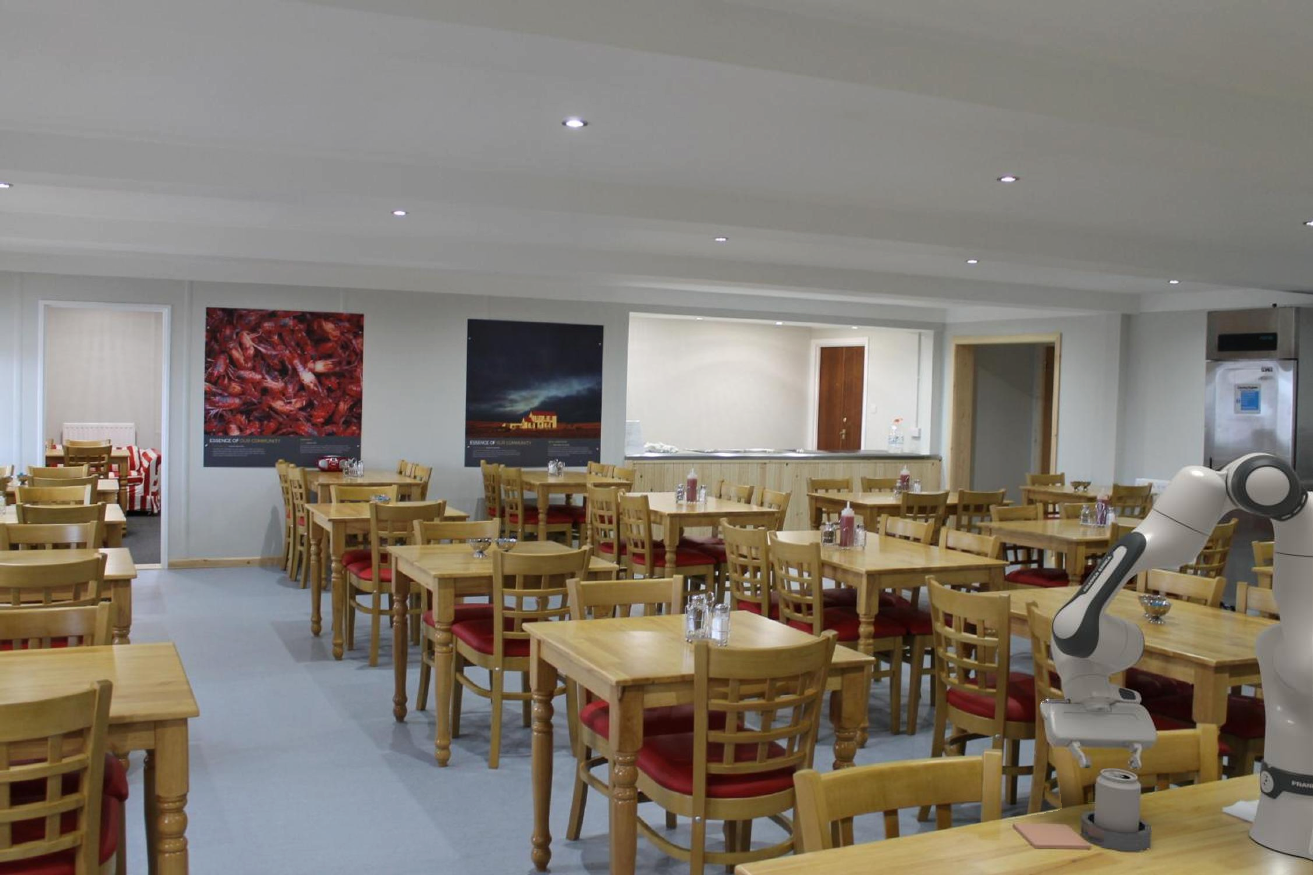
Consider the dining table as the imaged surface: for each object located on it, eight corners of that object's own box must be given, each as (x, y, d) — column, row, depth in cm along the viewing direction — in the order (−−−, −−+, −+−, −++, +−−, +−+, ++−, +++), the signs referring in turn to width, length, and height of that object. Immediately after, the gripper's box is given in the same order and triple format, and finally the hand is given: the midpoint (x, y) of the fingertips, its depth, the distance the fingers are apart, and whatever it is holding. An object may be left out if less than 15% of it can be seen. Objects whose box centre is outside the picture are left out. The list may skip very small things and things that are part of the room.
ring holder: (1130, 826, 210) (1131, 810, 210) (1162, 851, 198) (1163, 834, 198) (1070, 825, 209) (1071, 809, 209) (1099, 850, 197) (1100, 833, 197)
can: (1142, 848, 199) (1145, 781, 199) (1097, 843, 200) (1100, 777, 200) (1133, 833, 206) (1136, 768, 206) (1089, 828, 208) (1093, 764, 207)
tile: (1065, 827, 208) (1065, 824, 208) (1090, 848, 198) (1090, 845, 198) (1012, 826, 207) (1013, 823, 207) (1035, 848, 197) (1035, 844, 197)
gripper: (1042, 689, 212) (1062, 757, 203) (1147, 692, 214) (1171, 760, 204) (1031, 706, 217) (1050, 774, 207) (1134, 709, 218) (1157, 776, 209)
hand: (1111, 767), depth 206 cm, fingers open, 8 cm apart
